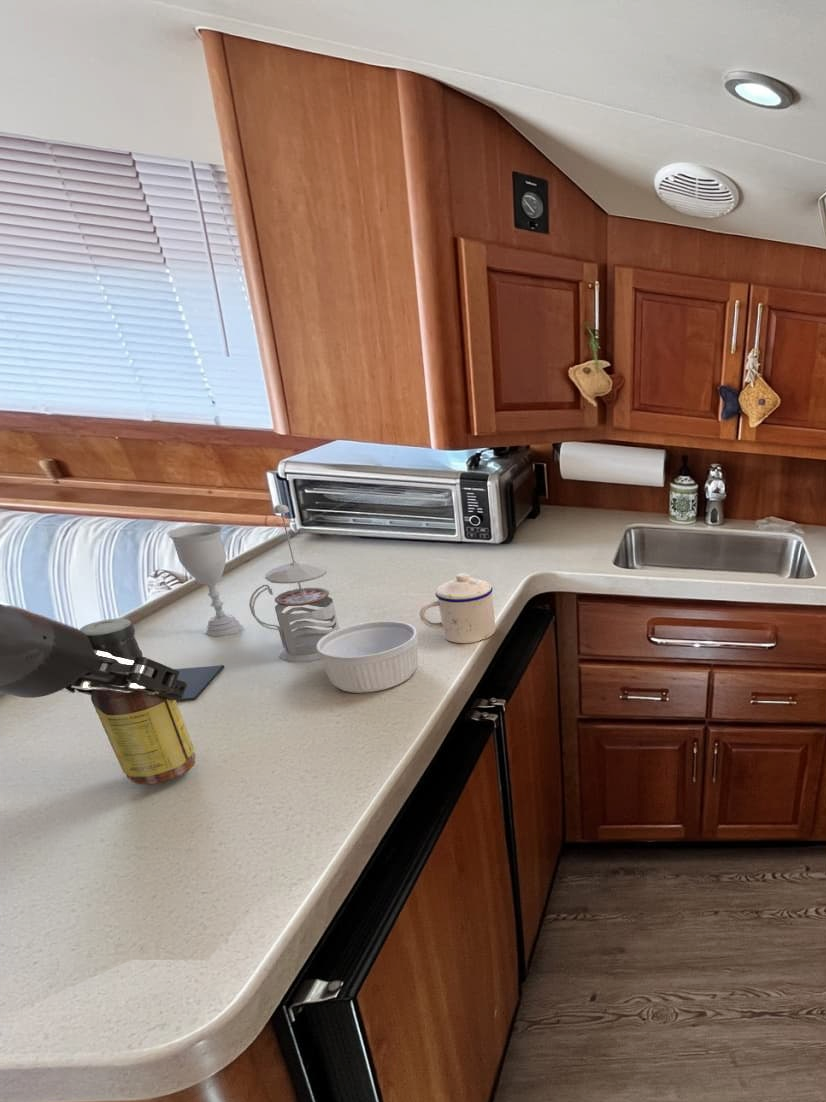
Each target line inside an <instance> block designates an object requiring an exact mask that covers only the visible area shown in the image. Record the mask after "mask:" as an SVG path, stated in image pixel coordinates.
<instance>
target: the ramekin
mask: <svg viewBox="0 0 826 1102" xmlns="http://www.w3.org/2000/svg"><path fill="white" fill-rule="evenodd" d="M418 642H419V634H418V630H417V629H416V627H415V626H414V625H412V624H409V623H407V622H404V621H398V620H373V621H366V622H360V623H355V624H351V625H347V626H344V627H341V628H340V627H339V629H338V630H335V631H333V632H331V633H329V634H327V635H325V636H324V637H323V638H321V639H320V640H319V641H318V643H317V645H316V649H317V654H318V657H319V658H320V659H319V660H321V662H322V665H323V667H324V670H325V672H326V675H327V678H328V679H329V681H330V683H331V684H332V685H333V686H334V687H336V688H337V689H340V690H341V691H344V692H348V693H354V694H355V693H357V694H365V693H374V692H379V691H383V690H387V689H390V688H393V687H396V686H399V685H400V684H402V683H405V681H408V680H409V678H411V677H412V676H413V674H414V673H415V672H416V670H417V667H418V659H419V658H418V657H419V656H418Z"/></svg>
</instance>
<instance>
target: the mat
mask: <svg viewBox="0 0 826 1102" xmlns="http://www.w3.org/2000/svg"><path fill="white" fill-rule="evenodd" d="M224 668H225V665H224V664H219V665H208V666H198V667H197V666H196V667H195V666H194V667H185V668H173V669H174V670H177V671H179V672H180V673H179V675H178V678H177V680H180V681H183V682H185V683H186V685H187V688H186V690H185V693H184V696H183V697H182V699H181V700H176V702H177V703H178V702H186V701H187V702H188V701H195V700H196V699H197V698H198V697H199V696H201V694H202V693H203V692H204V691H205V690H206V688H207V687H208V686H209V685H210V684H211V683H212V682H213V681H214V680H215V678H217V676H218V675H219V674H220V673H221V672H222V670H224Z"/></svg>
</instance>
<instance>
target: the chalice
mask: <svg viewBox="0 0 826 1102" xmlns="http://www.w3.org/2000/svg"><path fill="white" fill-rule="evenodd" d="M222 531H223V527H222V526H220V525H215V524H197V525H196V524H194V525H193V524H192V525H187V526H181V527H177V528H173V529H171V530H168V531H167V532H166V535H167V537H169V538H170V539H171V540H172V542H173V545H174V549H175V552H176V554H177V559H178V561H179V563H180V564H181V565H182V566H183V568H184V569H185V570H186V571H187V573H189V575H191V577H193V578H194V579H195V580H196V581H197V582H198V583H199V584H201V585H205V586H207V587H208V593H207V596H208V597H210V599H211V604H210V607H213V609H214V610H215V614H214V616H212V617H210V619H209V620H208V621H207V626H206V630H205V634H206V635H207V636H209V637H210V636H212V637H220V636H227V635H232V634H234V633H237V632H239V631H241V630H243V629H244V625H243V623H241V622H240V621H239V619H237V618H236V616H234V615H233V614H227V613H226V612H224V611H223V606H224V604H225V603H224V602H223V601H221V599H220V595H221V593H220V591H218V589H217V588H216V584H217V583H219V582H221V580H222V577H223V574H224V570H225V567H226V561H227V553H226V550H225V546H224V543H223V539H222V535H221V534H222Z"/></svg>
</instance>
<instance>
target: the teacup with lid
mask: <svg viewBox="0 0 826 1102" xmlns="http://www.w3.org/2000/svg"><path fill="white" fill-rule="evenodd" d="M492 592H493V587H492V585H491V584H490V583H489V582H488V581H486V580H484V579H478V578H473V577H470V575H469V574H468V573H466V572H462V573H458V574H456V577H455V578H454V579H453V580H452V579H451V581H447V582H445V583H442V584H441V585H439V586H438V587H437V589H436V591H435V597H436V598H437V600H434V601H433V600H432V601H429V602H426V603H424V604H423V605H422V606H421V607H420V608H419V613H418V614H419V619H420V620H421V621H422V623H423V624H424V625H425V626H427V627H429V628H433V629H440V628H441V629H442V635H443V637H444V639H446V641H448V642H450V643H455V644H471V643H476V642H480V640H481V641H483V640H482V639H484V640H486V639H488V638H490V637H492V636H493V635H494V634H495V633H496V630H497V628H496V620H495V610H494V603H493V602H494V601H493V594H492ZM434 607H438V609H439V616H440V622H431V621H429V620H428V619H427V618H426V616H425V612H426V611H427V610H428V609H430V608H434ZM485 638H486V639H485Z"/></svg>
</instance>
